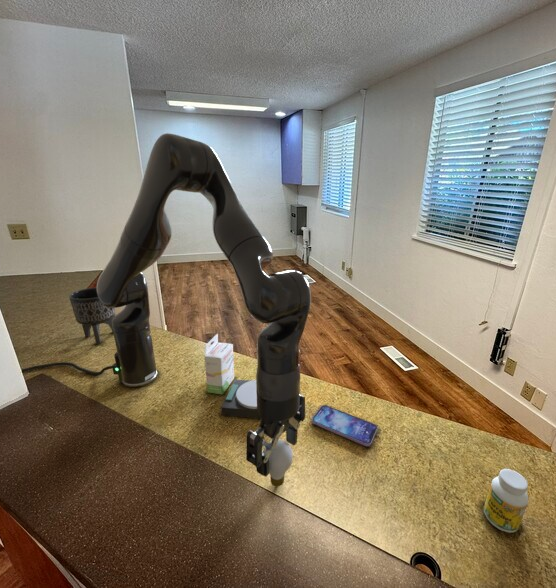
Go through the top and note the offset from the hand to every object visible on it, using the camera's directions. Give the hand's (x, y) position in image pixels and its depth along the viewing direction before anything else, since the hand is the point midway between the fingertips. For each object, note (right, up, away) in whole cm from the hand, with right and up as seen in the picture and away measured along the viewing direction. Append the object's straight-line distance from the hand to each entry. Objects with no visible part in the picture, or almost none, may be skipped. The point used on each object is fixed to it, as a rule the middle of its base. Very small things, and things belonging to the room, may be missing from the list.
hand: (278, 457), depth 58 cm
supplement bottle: (+40, -10, -3) cm, 42 cm away
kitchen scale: (-8, +2, +25) cm, 26 cm away
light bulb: (0, -7, +2) cm, 7 cm away
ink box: (-18, +4, +31) cm, 37 cm away
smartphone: (+15, -2, +17) cm, 23 cm away
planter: (-70, +14, +56) cm, 91 cm away
